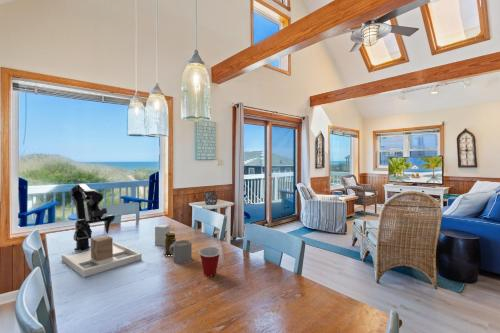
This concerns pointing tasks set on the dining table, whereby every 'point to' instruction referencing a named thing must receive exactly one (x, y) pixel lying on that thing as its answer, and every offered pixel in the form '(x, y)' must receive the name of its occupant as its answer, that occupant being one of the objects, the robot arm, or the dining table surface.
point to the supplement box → (161, 234)
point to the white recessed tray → (91, 267)
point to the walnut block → (101, 247)
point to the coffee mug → (181, 251)
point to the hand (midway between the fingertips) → (98, 235)
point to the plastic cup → (209, 260)
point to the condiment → (169, 243)
